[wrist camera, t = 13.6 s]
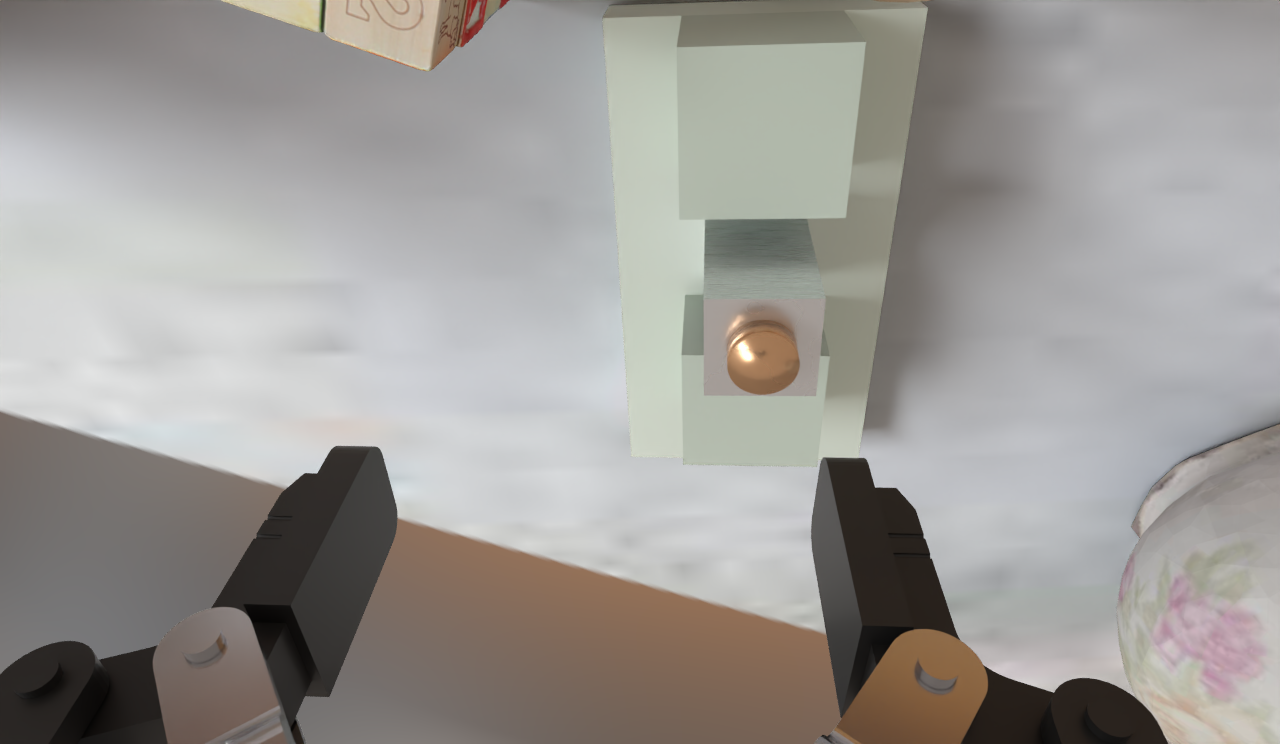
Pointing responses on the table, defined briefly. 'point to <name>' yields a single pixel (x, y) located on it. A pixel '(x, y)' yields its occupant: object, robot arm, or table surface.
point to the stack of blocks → (387, 24)
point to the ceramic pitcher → (1208, 597)
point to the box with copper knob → (761, 308)
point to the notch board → (684, 240)
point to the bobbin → (902, 0)
